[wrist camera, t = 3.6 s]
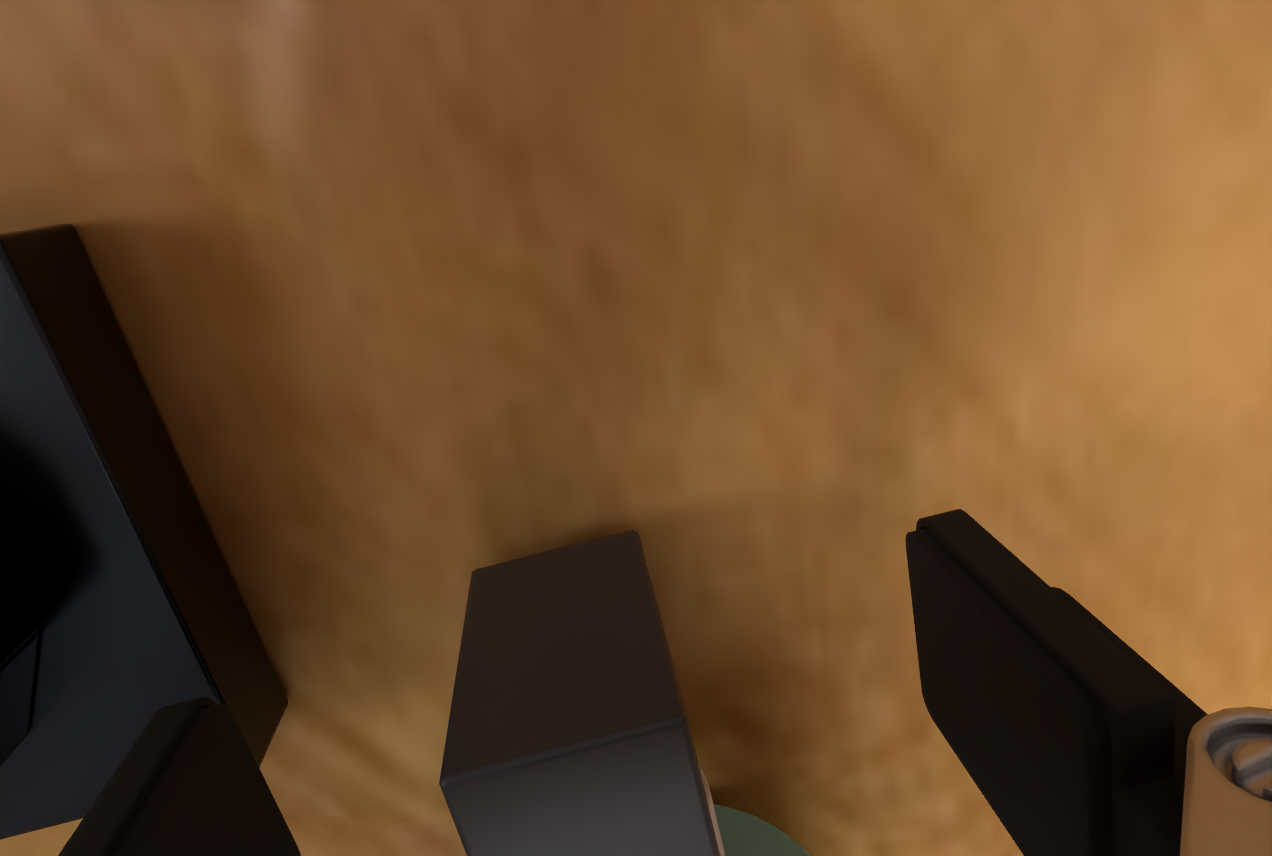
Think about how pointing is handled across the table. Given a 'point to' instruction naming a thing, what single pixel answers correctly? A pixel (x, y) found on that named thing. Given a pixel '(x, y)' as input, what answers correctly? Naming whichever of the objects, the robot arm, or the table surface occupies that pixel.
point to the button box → (98, 551)
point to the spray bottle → (579, 719)
